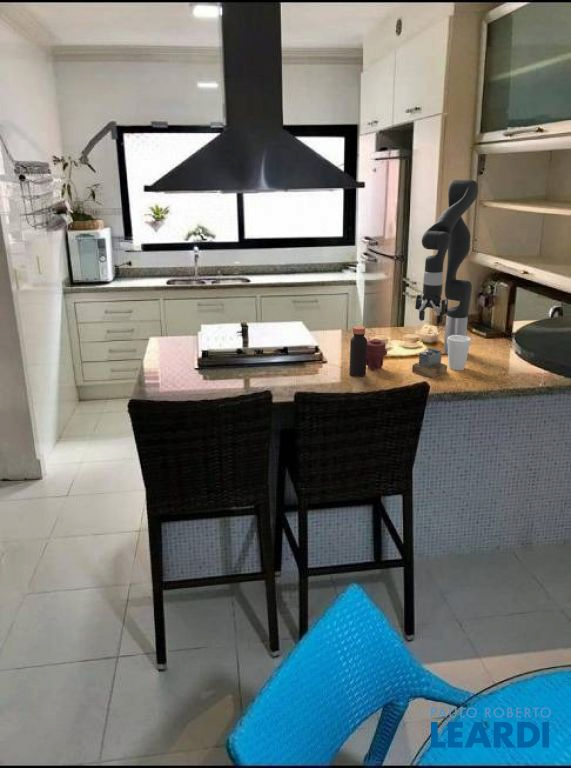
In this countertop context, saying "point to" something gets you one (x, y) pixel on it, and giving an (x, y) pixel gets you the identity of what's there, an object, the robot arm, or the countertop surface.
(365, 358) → the bottle
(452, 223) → the robot arm
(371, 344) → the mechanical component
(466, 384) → the countertop surface
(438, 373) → the stand
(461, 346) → the foam cup
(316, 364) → the countertop surface
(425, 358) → the housing
